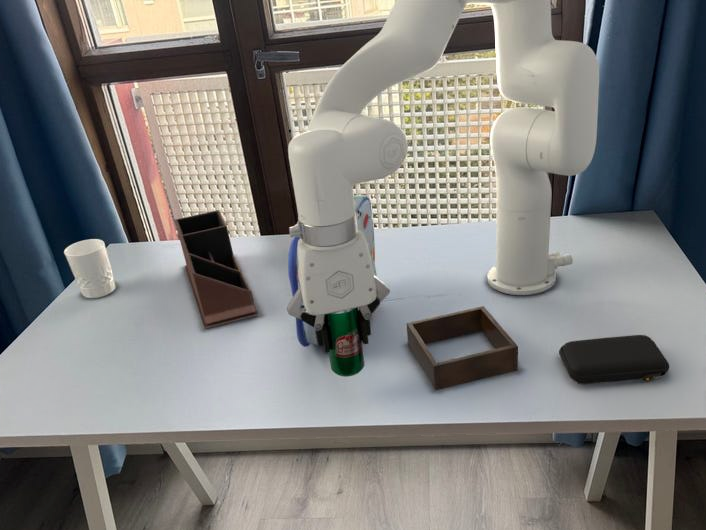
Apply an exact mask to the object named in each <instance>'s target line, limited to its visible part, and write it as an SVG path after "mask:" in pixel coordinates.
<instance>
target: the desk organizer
mask: <svg viewBox="0 0 706 530" xmlns="http://www.w3.org/2000/svg"><path fill="white" fill-rule="evenodd" d="M174 224H175V226H176V231H177V235H178V238H179V242H180V247H181V249H182V253H183V257H184V261H185V265H184V269H185V272H186V275H187V278H188V281H189V284H190V287H191V291H192V294H193V298H194V301H195V304H196V307H197V310H198V313H199V317H200V320H201V323H202V325H203V326H202V327H203V329H204V330H206V329H210V328H213V327H218V326H222V325H226V324H229V323H232V322H238V321H241V320H245V319H248V318H249V319H250V318H253V317H257V316H260V313H259V311H258V309H257V307H256V304H255V301H254V295H253V292H252V289H251V288H250V286H249V284H248V282H247V280H246V278H245V276H244V274H243V272H242V269H241V268H240V266H239V263H238V261H237V259H236V257H235V255H234V251H233V246H232V243H231V238H230V234H229V229H228V226H227V223H226V221H225V219H224V217H223V215H222V213H221V211H220V210H219V209H217V210H212V211H208V212H203V213H199V214H194V215H190V216H189V215H188V216H185V217H180V218H176V219H174Z"/></svg>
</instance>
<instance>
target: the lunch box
mask: <svg viewBox="0 0 706 530" xmlns="http://www.w3.org/2000/svg"><path fill="white" fill-rule="evenodd" d="M354 202H355V211H356V219H357V228H358V229H359V230H360V231H361V232H362V233H363V234H364V235H365V238H366V241H367V245H368V248H369V252H370V257H371V262H372V267H373V273H374V275H375V276H376V277H377V267H376V243H375V228H374V227H375V226H374V219H373V212H372V210H373V209H372V204H371V199H370V197H368V195H366V194H357V195H354ZM299 239H300V237H293V238H292V240H291V242H290V245H289V249H288V257H287V259H288V260H287V265H288V266H287V268H288V269H287V271H288V279H289V284H290V285H289V286H290V288H291V295H292V297H293V296H294V295H295V293H296V291H297V290H298V288H299V287H300V286H299V277H298V264H297V248H298V241H299ZM377 278H378V277H377ZM300 308H302V309H305V306H304V303H302V305H301V307H300ZM358 310H359V308H358ZM295 328H296V338H297V340H298V343H299V344H300V345H301V346H302V347H303V348H306V347H309V346H310V345H315V346H318V344H317V340H316V333H315V328H314V327H312V326H310V325H309V324H307V323H305V322H303V321H302V320H301V319H298V318H296V317H295Z"/></svg>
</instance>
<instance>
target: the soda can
mask: <svg viewBox="0 0 706 530" xmlns="http://www.w3.org/2000/svg"><path fill="white" fill-rule="evenodd" d="M324 325H325V327H326V329H327V334H328V341H329V348H330V352H329V353H328V357H329V364H330V370H331V371H332V372H333V373H334V374H335V375H337V376H339V377H344V378H347V377H353V376H356V375H358V374H359V373H360V372H361V371H362V370H363V369H364V367H365V356H364V348H363V342H362V338H361V330H360V322H359V313H358V307H357V308H352V309H348V310H343V311H338V312H334V313H329V314H325V316H324Z"/></svg>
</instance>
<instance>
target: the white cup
mask: <svg viewBox="0 0 706 530" xmlns="http://www.w3.org/2000/svg"><path fill="white" fill-rule="evenodd" d="M63 254H64V256H65V258H66V261H67V263H68V265H69V268H70V270H71V273H72V275H73V277H74V280H75V281H76V284H77V285H78V287H79V290H80V292H81V295H82V296H83V297H84V298H86V299H99V298H103V297H105V296H107V295H109V294H112V293H113V292H114V291H115V290H116V283H115V279H114V273H113V270H112V265H111V262H110V258H109V254H108V251H107V247H106V244H105V241H103V240H102V239H99V238H90V239H84V240H80V241H77V242H74V243H72V244H70V245H68V246H67V247H66V248H65V249H64V251H63Z"/></svg>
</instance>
